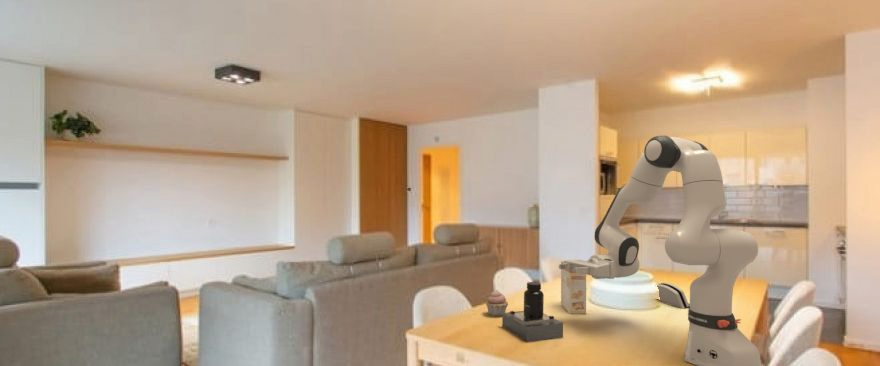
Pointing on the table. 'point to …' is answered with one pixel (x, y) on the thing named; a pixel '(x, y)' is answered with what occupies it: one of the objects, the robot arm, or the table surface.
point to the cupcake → (496, 304)
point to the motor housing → (532, 326)
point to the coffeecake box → (573, 291)
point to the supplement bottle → (533, 301)
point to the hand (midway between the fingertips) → (567, 268)
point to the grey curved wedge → (672, 295)
